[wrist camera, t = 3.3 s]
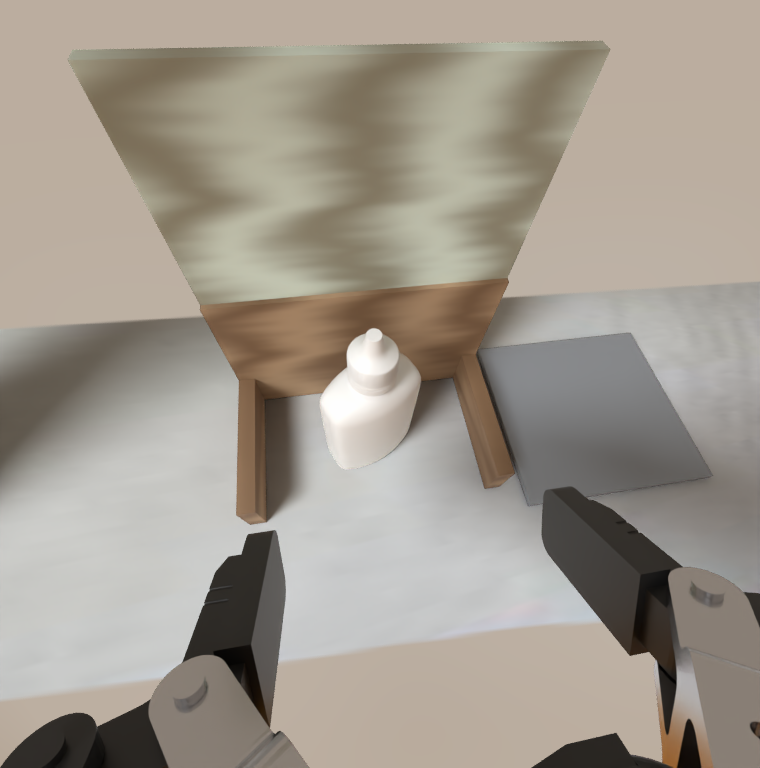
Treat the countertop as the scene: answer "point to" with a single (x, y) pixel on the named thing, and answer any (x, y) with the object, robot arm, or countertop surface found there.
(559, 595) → the countertop surface
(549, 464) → the slate mat
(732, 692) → the robot arm
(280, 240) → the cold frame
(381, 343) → the eye dropper bottle
